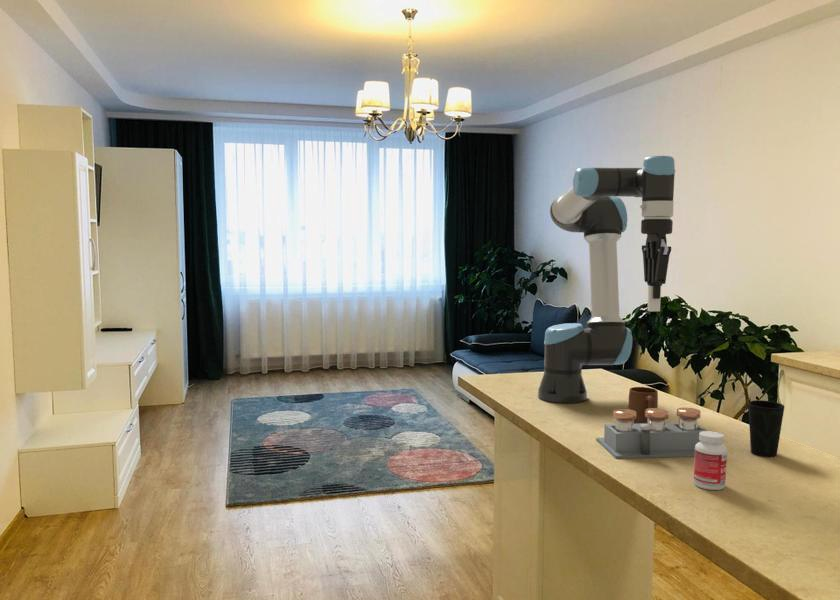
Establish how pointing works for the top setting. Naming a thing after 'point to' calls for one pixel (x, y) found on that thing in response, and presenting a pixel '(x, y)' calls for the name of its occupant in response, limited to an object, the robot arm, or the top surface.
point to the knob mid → (656, 418)
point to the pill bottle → (710, 461)
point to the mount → (651, 442)
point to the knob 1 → (624, 419)
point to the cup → (765, 427)
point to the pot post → (645, 438)
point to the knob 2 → (688, 418)
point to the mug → (642, 402)
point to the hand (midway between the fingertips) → (653, 310)
